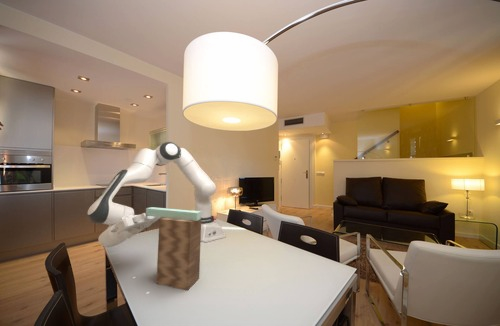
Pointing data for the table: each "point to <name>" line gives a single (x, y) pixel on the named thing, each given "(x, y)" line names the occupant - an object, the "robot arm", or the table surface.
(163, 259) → the walnut stand
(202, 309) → the table surface
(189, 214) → the mint green bar
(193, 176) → the robot arm
